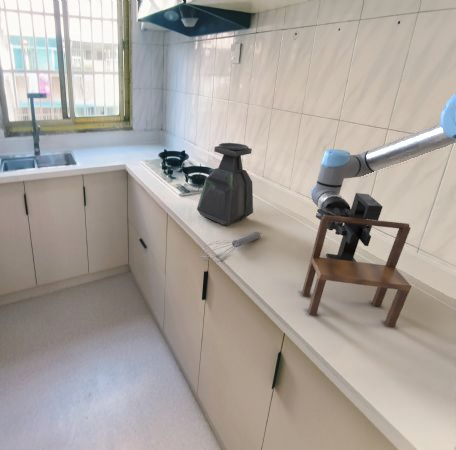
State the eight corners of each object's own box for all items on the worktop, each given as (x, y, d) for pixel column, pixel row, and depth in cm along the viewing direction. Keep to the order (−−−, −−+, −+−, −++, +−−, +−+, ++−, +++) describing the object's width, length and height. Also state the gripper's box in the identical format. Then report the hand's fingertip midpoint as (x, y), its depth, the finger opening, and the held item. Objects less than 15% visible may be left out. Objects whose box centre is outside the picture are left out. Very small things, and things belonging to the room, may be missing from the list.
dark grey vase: (226, 229, 131) (236, 152, 118) (195, 216, 142) (201, 144, 130) (252, 218, 142) (265, 147, 129) (222, 207, 153) (230, 140, 141)
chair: (378, 303, 91) (408, 222, 81) (394, 327, 82) (430, 240, 72) (301, 292, 94) (322, 213, 84) (309, 314, 85) (333, 229, 75)
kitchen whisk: (267, 238, 124) (270, 223, 122) (211, 270, 103) (213, 252, 100) (252, 233, 128) (255, 218, 126) (195, 263, 107) (197, 245, 104)
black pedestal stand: (325, 256, 96) (344, 189, 88) (352, 259, 95) (373, 192, 87) (336, 277, 86) (359, 204, 78) (366, 281, 85) (392, 207, 77)
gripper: (357, 221, 105) (390, 257, 84) (303, 215, 108) (321, 249, 87) (365, 198, 102) (400, 230, 81) (309, 193, 105) (329, 222, 83)
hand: (359, 240), depth 84 cm, fingers closed on black pedestal stand, 3 cm apart
